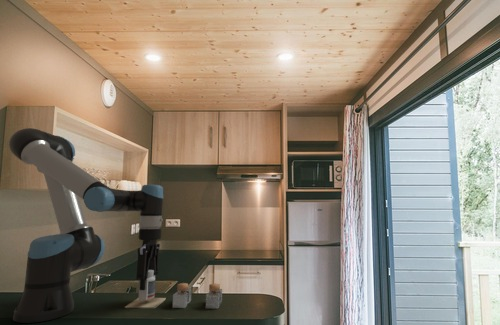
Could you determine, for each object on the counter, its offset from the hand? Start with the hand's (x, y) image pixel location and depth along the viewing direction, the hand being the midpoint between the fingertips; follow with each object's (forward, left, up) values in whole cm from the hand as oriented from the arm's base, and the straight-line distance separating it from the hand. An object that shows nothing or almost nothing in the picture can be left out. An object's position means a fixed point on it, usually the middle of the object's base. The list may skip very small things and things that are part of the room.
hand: (146, 296), depth 98 cm
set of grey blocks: (+18, 0, -2) cm, 18 cm away
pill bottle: (0, 0, 0) cm, 0 cm away
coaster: (0, 0, -2) cm, 2 cm away
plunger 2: (+24, 0, -1) cm, 24 cm away
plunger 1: (+13, 0, -1) cm, 13 cm away
